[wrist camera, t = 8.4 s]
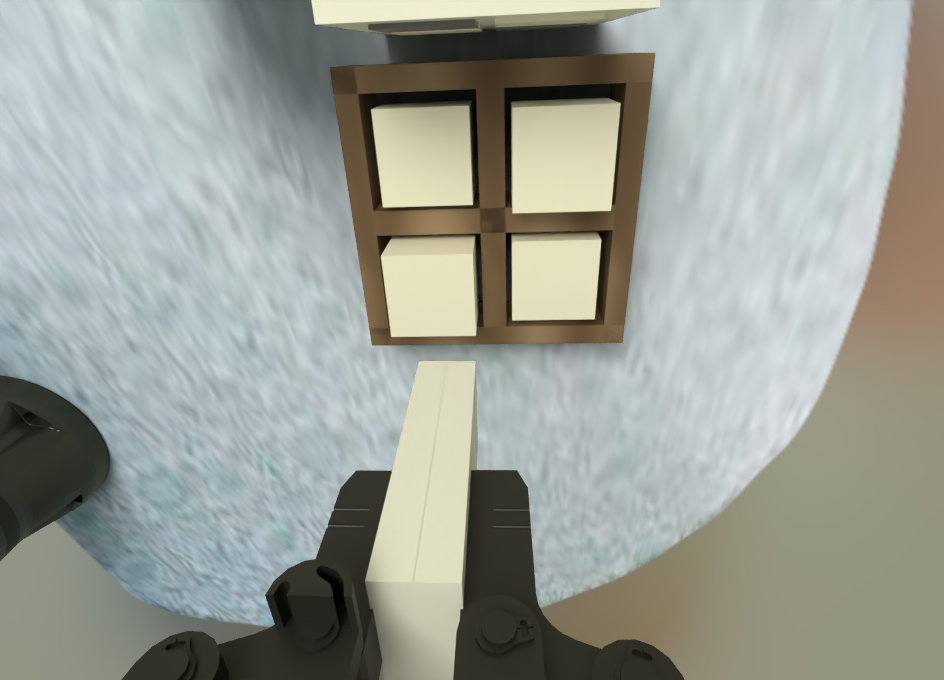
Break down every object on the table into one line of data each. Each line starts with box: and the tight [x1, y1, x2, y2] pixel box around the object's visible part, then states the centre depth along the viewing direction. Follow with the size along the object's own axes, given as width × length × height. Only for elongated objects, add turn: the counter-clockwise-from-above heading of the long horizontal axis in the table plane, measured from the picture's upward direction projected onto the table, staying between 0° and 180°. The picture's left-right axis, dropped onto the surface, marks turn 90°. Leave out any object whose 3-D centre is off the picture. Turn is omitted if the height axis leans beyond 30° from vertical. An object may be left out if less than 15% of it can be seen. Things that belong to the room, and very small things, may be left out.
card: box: [311, 0, 660, 36], centre depth 26 cm, size 13×1×14 cm, turn 92°
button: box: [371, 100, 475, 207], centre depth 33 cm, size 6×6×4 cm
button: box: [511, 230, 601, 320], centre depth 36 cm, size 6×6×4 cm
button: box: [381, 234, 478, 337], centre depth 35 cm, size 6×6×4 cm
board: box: [330, 53, 655, 345], centre depth 35 cm, size 18×18×4 cm
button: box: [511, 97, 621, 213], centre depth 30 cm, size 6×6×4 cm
